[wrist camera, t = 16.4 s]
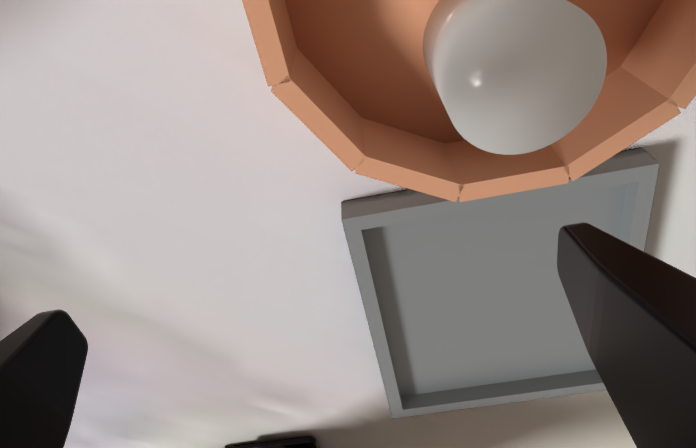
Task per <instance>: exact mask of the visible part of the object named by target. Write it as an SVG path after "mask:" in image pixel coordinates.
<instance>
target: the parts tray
mask: <svg viewBox="0 0 696 448" xmlns="http://www.w3.org/2000/svg"><path fill="white" fill-rule="evenodd" d="M659 164H660V163H659V162H657V161H656V160H655V159H654V158H653V157H652V156H651V155H650V154H648V153H647V152H646V151H645V150H644V149H643V148H636V149H631V150H625V151H620V152H619V153H617V154H615V155H614V156H612V157H611V158H609V159H608V160H606V161H604V162H603V163H601V164H600V165H598V166H596V167H595V168H593V169H592V170H590V171H589V172H587V173H585V174H584V175H582V176H581V177H579V178H578V179H576V180H574V181H572V180H571V178H570V177H569V181H568V183H567V184H561V185H556V186H550V187H544V188H539V189H533V190H527V191H522V192H516V193H510V194H505V195H499V196H493V197H487V198H482V199H476V200H470V201H465V202H460V201H459V199H457V200H456V202H453V201H450V200H446V199H443V198H439V197H436V196H432V195H429V194H425V193H422V192H418V191H415V190H412V189H409V190H404V191H398V192H393V193H387V194H382V195H376V196H371V197H365V198H360V199H354V200H348V201H343V202H341V208H342V223H343V227H344V231H345V235H346V239H347V243H348V247H349V250H350V254H351V258H352V262H353V266H354V270H355V274H356V278H357V282H358V286H359V290H360V293H361V297H362V301H363V305H364V309H365V313H366V317H367V321H368V325H369V329H370V333H371V336H372V340H373V344H374V348H375V352H376V356H377V360H378V364H379V368H380V372H381V376H382V379H383V383H384V387H385V391H386V395H387V399H388V403H389V407H390V411H391V415H392V419H393V418H401V417H408V416H416V415H423V414H431V413H438V412H446V411H453V410H460V409H468V408H475V407H483V406H490V405H498V404H505V403H513V402H520V401H528V400H535V399H543V398H550V397H557V396H565V395H572V394H580V393H587V392H595V391H602V390H607V389H606V387H605V385H604V383H603V382H602V380H601V378H600V376H599V374H598V372H597V370H596V368H595V366H594V364H593V362H592V360H591V358H590V356H589V354H588V351H587V349H586V346H585V344H584V341H583V339H582V336H581V333H580V331H579V328H578V326H577V323H576V320H575V318H574V315H573V312H572V310H571V307H570V304H569V302H568V299H567V296H566V294H565V291H564V288H563V286H562V283H561V280H560V278H559V274H558V270H557V250H558V233H559V230H560V228H561V227H562V226H564V225H570V224H576V223H582V222H585V223H588V224H591V225H593V226H595V227H597V228H599V229H601V230H603V231H604V232H606V233H608V234H610V235H612V236H614V237H616V238H618V239H620V240H622V241H624V242H626V243H628V244H630V245H632V246H634V247H636V248H638V249H640V250H642V251H644V248H645V243H646V237H647V231H648V226H649V220H650V215H651V209H652V203H653V198H654V192H655V187H656V181H657V175H658V170H659Z"/></svg>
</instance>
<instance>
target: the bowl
mask: <svg viewBox="0 0 696 448" xmlns="http://www.w3.org/2000/svg"><path fill="white" fill-rule="evenodd" d="M438 1H439V0H242V2H243V5H244V8H245V11H246V15H247V18H248V21H249V25H250V28H251V31H252V35H253V38H254V41H255V45H256V48H257V51H258V54H259V58H260V61H261V64H262V68H263V71H264V74H265V78H266V81H267V84H268V86H272V89H271V92H272V93H273V94H274V95H275V96H276V97H277V98H278V99H280V100H281V101H282V102H283V103H284V104H285V105H286V106H287V107H288V108H289V109H290V110H291V111H292V112H293V113H294V114H295V115H296V116H297V117H298V118H299V119H300V120H301V121H302V122H303V123H304V124H305V125H306V126H307V127H308V128H309V129H310V130H311V131H312V132H313V133H314V134H315V135H316V136H317V137H318V138H319V139H320V140H321V141H322V142H323V143H324V144H325V145H326V146H327V147H328V148H329V149H330V150H331V151H332V152H333V153H334V154H335V155H336V156H337V157H338V158H339V159H340V160H341V161H342V162H343V163H344V164H345V165H346V166H347V167H348V168H349V169H350V170H351V171H353V170H354V169H355V172H356V174H359V175H363V176H366V177H370V178H373V179H377V180H380V181H384V182H387V183H391V184H394V185H398V186H401V187H405V188H408V189H412V190H415V191H418V192H422V193H425V194H429V195H432V196H436V197H439V198H443V199H446V200H450V201H453V202H456V200H457V199H459V201H460V202H465V201H470V200H476V199H482V198H487V197H493V196H499V195H505V194H510V193H516V192H522V191H527V190H533V189H539V188H544V187H550V186H556V185H561V184H567V183H568V181H569V177H570V178H571V180H572V181H574V180H576V179H578V178H579V177H581V176H582V175H584V174H585V173H587V172H589V171H590V170H592V169H593V168H595V167H596V166H598V165H600V164H601V163H603V162H604V161H606V160H608V159H609V158H611V157H612V156H614V155H615V154H617V153H619V152H620V151H622V150H623V149H625V148H626V147H628V146H630V145H631V144H633V143H634V142H636V141H637V140H639V139H641V138H642V137H644V136H645V135H647V134H648V133H650V132H652V131H653V130H655V129H656V128H658V127H660V126H661V125H663V124H664V123H666V122H667V121H669V120H671V119H672V118H674V117H675V116H677V115H678V114H680V113H681V112H680V110H679V108H678V107H681V108H683V109H686V107H687V106H688V105H689V103H690V102H691V101H692V99H693V98H694V97H695V95H696V0H567V1H569V2H570V3H572V4H574V5H576V6H578V7H579V8H581V9H582V10H583V11H585V12H586V13H587V14H588V15H589V16H590V17H591V18H592V19H593V20H594V21H595V23H596V24H597V26H598V27H599V29H600V31H601V33H602V36H603V38H604V42H605V45H606V52H607V68H606V75H605V79H604V83H603V86H602V89H601V91H600V94H599V96H598V98H597V100H596V102H595V103H594V105H593V107H592V108H591V110H590V111H589V112H588V114H587V115H586V116H585V118H584V119H583V120H582V121H581V122H580V123H579V124H578V125H577V126H576V127H575V128H574V129H573V130H572V131H571V132H569V133H568V134H567V135H565V136H564V137H563V138H561V139H559V140H558V141H556V142H554V143H553V144H551V145H548V146H546V147H544V148H542V149H539V150H536V151H533V152H529V153H524V154H516V155H503V154H495V153H491V152H487V151H484V150H482V149H479V148H477V147H476V146H474V145H472V144H471V143H469V142H468V141H467V140H465V139H464V138H463V137H462V136H461V135H460V134H459V132H458V131H457V130H456V128H455V127H454V125H453V123H452V121H451V119H450V117H449V115H448V113H447V111H446V109H445V106H444V104H443V102H442V100H441V98H440V96H439V94H438V91H437V89H436V87H435V85H434V83H433V81H432V79H431V76H430V74H429V72H428V70H427V67H426V64H425V61H424V56H423V36H424V31H425V27H426V24H427V21H428V19H429V16H430V14H431V12H432V10H433V9H434V7H435V6H436V4H437V3H438ZM677 106H678V107H677Z"/></svg>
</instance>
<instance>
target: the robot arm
mask: <svg viewBox="0 0 696 448" xmlns="http://www.w3.org/2000/svg"><path fill="white" fill-rule="evenodd" d="M557 270H558V274H559V278H560V280H561V283H562V286H563V288H564V291H565V294H566V296H567V299H568V302H569V304H570V307H571V310H572V312H573V315H574V318H575V320H576V323H577V326H578V328H579V331H580V333H581V336H582V339H583V341H584V344H585V346H586V349H587V351H588V354H589V356H590V358H591V360H592V362H593V364H594V366H595V368H596V370H597V372H598V374H599V376H600V378H601V380H602V382H603V383H604V385H605V387H606V389H607V391H608V393H609V395H610V397H611V399H612V401H613V403H614V405H615V406H616V408H617V410H618V412H619V414H620V416H621V418H622V420H623V422H624V424H625V426H626V428H627V429H628V431H629V433H630V435H631V437H632V439H633V441H634V443H635V445H636V447H637V448H696V278H695V277H693V276H691V275H689V274H687V273H685V272H683V271H681V270H679V269H677V268H675V267H673V266H671V265H669V264H667V263H665V262H663V261H661V260H659V259H657V258H655V257H653V256H652V255H650V254H648V253H646V252H644V251H642V250H640V249H638V248H636V247H634V246H632V245H630V244H628V243H626V242H624V241H622V240H620V239H618V238H616V237H614V236H612V235H610V234H608V233H606V232H604V231H603V230H601V229H599V228H597V227H595V226H593V225H591V224H588V223H585V222H582V223H576V224H570V225H564V226H562V227H561V228H560V230H559V233H558V250H557ZM87 352H88V344H87V340H86V338H85V336H84V335H83V333H82V332H81V331H80V329H79V328H78V327H77V325H76V324H75V323H74V321H73V320H72V319H71V317H70V316H69V315H68V313H67V312H65V311H63V310H53V311H47V312H42V313H39V314H37V315H35V316H34V317H33V318H31V319H30V320H29V321H27V322H26V323H24V324H23V325H22V326H20V327H19V328H18V329H16V330H15V331H14V332H12V333H11V334H9V335H8V336H7V337H5V338H4V339H3V340H1V341H0V448H63V447H64V444H65V441H66V438H67V435H68V432H69V428H70V425H71V421H72V417H73V413H74V409H75V404H76V400H77V396H78V391H79V387H80V383H81V378H82V374H83V369H84V365H85V361H86V356H87ZM227 448H319V446H318V443H317V441H316V439H315V438H313V437H303V438H295V439H288V440H280V441H273V442H265V443H258V444H250V445H242V446H235V447H227Z"/></svg>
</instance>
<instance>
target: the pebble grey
mask: <svg viewBox="0 0 696 448" xmlns="http://www.w3.org/2000/svg"><path fill="white" fill-rule="evenodd" d="M423 56H424V61H425V64H426V67H427V70H428V72H429V74H430V76H431V79H432V81H433V83H434V85H435V87H436V89H437V91H438V94H439V96H440V98H441V100H442V102H443V104H444V106H445V109H446V111H447V113H448V115H449V117H450V119H451V121H452V123H453V125H454V127H455V128H456V130H457V131H458V132H459V134H460V135H461V136H462V137H463V138H464V139H465V140H467V141H468V142H469V143H471V144H472V145H474V146H476V147H477V148H479V149H482V150H484V151H487V152H491V153H495V154H503V155H516V154H524V153H529V152H533V151H536V150H539V149H542V148H544V147H546V146H548V145H551V144H553V143H554V142H556V141H558V140H559V139H561V138H563V137H564V136H565V135H567V134H568V133H569V132H571V131H572V130H573V129H574V128H575V127H576V126H577V125H578V124H579V123H580V122H581V121H582V120H583V119H584V118H585V116H586V115H587V114H588V112H589V111H590V110H591V108H592V107H593V105H594V103H595V102H596V100H597V98H598V96H599V94H600V91H601V89H602V86H603V83H604V79H605V75H606V68H607V52H606V45H605V42H604V38H603V36H602V33H601V31H600V29H599V27H598V26H597V24H596V23H595V21H594V20H593V19H592V18H591V17H590V16H589V15H588V14H587V13H586V12H585V11H583V10H582V9H581V8H579V7H578V6H576V5H574V4H572V3H570V2H569V1H567V0H439V1H438V3H437V4H436V6H435V7H434V9H433V10H432V12H431V14H430V16H429V19H428V21H427V24H426V27H425V31H424V36H423Z"/></svg>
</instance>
